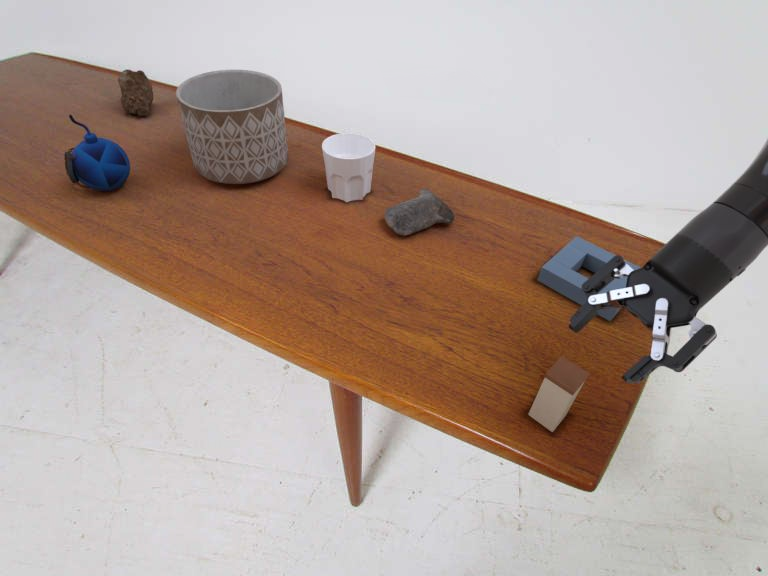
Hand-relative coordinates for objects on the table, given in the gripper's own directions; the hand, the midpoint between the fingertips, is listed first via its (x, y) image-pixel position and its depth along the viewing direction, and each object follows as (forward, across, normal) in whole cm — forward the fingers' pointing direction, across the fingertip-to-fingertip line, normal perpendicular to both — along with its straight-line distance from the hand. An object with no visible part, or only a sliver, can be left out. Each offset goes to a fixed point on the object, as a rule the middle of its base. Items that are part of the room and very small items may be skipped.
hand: (597, 354), depth 59 cm
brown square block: (+10, 0, +4) cm, 11 cm away
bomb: (+41, -79, -26) cm, 93 cm away
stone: (+6, -44, +9) cm, 45 cm away
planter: (+22, -76, -8) cm, 80 cm away
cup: (+11, -58, +4) cm, 59 cm away
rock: (+32, -111, -18) cm, 117 cm away
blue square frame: (-7, -16, +21) cm, 27 cm away
